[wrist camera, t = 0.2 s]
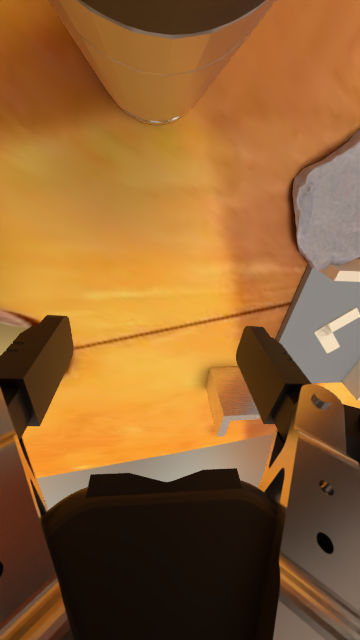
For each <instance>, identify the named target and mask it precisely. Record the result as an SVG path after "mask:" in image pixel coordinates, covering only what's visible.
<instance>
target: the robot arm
mask: <svg viewBox="0 0 360 640" xmlns="http://www.w3.org/2000/svg"><path fill="white" fill-rule="evenodd" d="M48 1H49V3H50V4H51V6H52V7H53V9H54V10H55V12H56V14H57V15H58V17H59V18H60V20H61V21H62V23H63V24H64V26H65V27H66V29H67V30H68V32H69V33H70V35H71V36H72V38H73V40H74V41H75V43H76V44H77V46H78V47H79V49H80V50H81V52H82V53H83V55H84V56H85V58H86V59H87V61H88V63H89V64H90V66H91V67H92V69H93V70H94V72H95V73H96V75H97V76H98V78H99V80H100V81H101V83H102V84H103V86H104V87H105V89H106V90H107V92H108V93H109V95H110V96H111V97H112V98H113V100H114V101H115V102H116V103H117V105H118V106H119V107H120V108H121V109H122V110H124V111H125V112H126V113H127V114H128V115H129V116H131V117H133V118H135V119H137V120H138V121H140V122H143V123H147V124H151V125H164V124H168V123H171V122H174V121H176V120H178V119H179V118H181V117H182V116H184V115H185V114H186V113H187V112H188V111H189V110H190V109H191V108H192V107H193V106H194V105H195V104H196V102H197V101H198V100H199V99H200V97H201V96H202V95H203V94H204V93H205V91H206V90H207V89H208V87H209V86H210V85H211V84H212V82H213V81H214V80H215V78H216V77H217V76H218V75H219V73H220V72H221V71H222V70H223V68H224V67H225V66H226V64H227V63H228V62H229V61H230V59H231V58H232V57H233V55H234V54H235V53H236V52H237V50H238V49H239V48H240V46H241V45H242V44H243V43H244V41H245V40H246V39H247V37H248V36H249V35H250V34H251V32H252V31H253V30H254V29H255V27H256V26H257V25H258V23H259V22H260V21H261V20H262V18H263V17H264V16H265V14H266V13H267V12H268V11H269V9H270V8H271V7H272V5H273V3H274V2H275V1H276V0H48ZM72 355H73V340H72V334H71V328H70V322H69V318H68V317H67V316H56V315H47V316H46V317H45V318H44V319H43V320H42V321H41V323H40V324H39V325H38V326H32V327H30V328H29V329H27V330H25V331H24V332H22V333H20V334H19V336H18V337H17V338H16V339H15V340H14V341H13V344H11V345H10V346H9V347H8V348H7V350H6V351H5V352H4V353H3V354H2V355H1V356H0V640H360V409H359V408H355V407H351V406H348V405H344V404H342V402H341V401H340V400H339V399H338V398H337V396H335V395H334V394H333V393H332V392H330V391H329V390H327V389H325V388H323V387H321V386H318V385H314V384H312V383H311V382H310V381H309V380H308V378H307V377H306V376H305V374H304V373H303V372H302V370H301V369H300V368H299V366H298V365H297V364H296V362H295V361H293V359H292V357H291V356H290V355H289V354H288V352H287V351H286V349H285V348H284V347H283V345H282V344H280V343H279V342H278V341H277V340H275V339H274V338H271V337H270V336H269V334H268V333H267V332H266V330H265V329H264V328H263V327H255V326H246V327H245V328H244V331H243V334H242V337H241V340H240V343H239V346H238V349H237V353H236V361H237V364H238V367H239V369H240V371H241V373H242V376H243V378H244V380H245V382H246V385H247V387H248V389H249V392H250V394H251V396H252V398H253V401H254V403H255V405H256V407H257V410H258V412H259V414H260V417H261V419H262V421H263V423H264V424H275V425H276V427H277V430H276V431H275V434H274V437H273V441H272V445H271V449H270V452H269V456H268V460H267V464H266V468H265V471H264V475H263V477H262V480H261V482H260V484H259V487H258V488H257V487H255V486H253V485H251V484H249V483H246V482H244V481H240V478H239V475H238V471H237V469H213V470H202V471H199V472H196V473H194V474H191V475H188V476H185V477H183V478H180V479H177V480H174V481H171V482H162V481H158V480H154V479H150V478H146V477H142V476H139V475H135V474H130V473H118V474H96V475H91V476H90V481H89V485H88V487H87V488H84V489H81V490H79V491H77V492H75V493H73V494H71V495H69V496H68V497H66V498H64V499H63V500H61V501H60V502H58V503H57V504H56V505H54V506H53V507H52V508H51V509H49V510H48V508H47V505H46V503H45V500H44V497H43V495H42V492H41V490H40V487H39V484H38V481H37V478H36V475H35V472H34V469H33V466H32V464H31V461H30V458H29V455H28V452H27V449H26V446H25V443H24V440H23V437H22V435H23V433H24V431H25V429H26V427H27V426H40V424H41V422H42V420H43V418H44V416H45V414H46V412H47V410H48V407H49V405H50V403H51V401H52V399H53V397H54V395H55V392H56V390H57V388H58V386H59V384H60V382H61V380H62V378H63V375H64V373H65V371H66V369H67V367H68V365H69V363H70V361H71V358H72Z"/></svg>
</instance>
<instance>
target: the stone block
mask: <svg viewBox="0 0 360 640" xmlns="http://www.w3.org/2000/svg"><path fill="white" fill-rule="evenodd" d="M292 197H293V203H294V211H295V223H296V228H297V233H296V236H297V244H298V250H299V252H300V253H301V254H302V255H303V256H304V257H305V258H306V260H307V261H308V263H309V264H310V267H311V268H314V269H318V270H324V269H326V268H327V266H328V265H329V264H331V265H337V266H338V265H341V264H344V263H346V262H349V261H351V260H354V259H356V258H358V257H360V130H358V131H357V132H356V133H355V134H354V135H353V136H352V137H351V138H350V139H349V141H348V142H347V143H346V144H344V145H342V146H341V147H339V148H338V149H337V150H336V151H334V152H333V153H332V154H330V155H329V156H327V157H326V158H324V159H323V160H321V161H319V162H317V163H315V164H312V165H310V166H308V167H306V168H304V169H302V170H301V171H300V173H299V174H298V175H297V176H296V177H295V179H294V182H293V194H292Z"/></svg>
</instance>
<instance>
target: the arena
mask: <svg viewBox="0 0 360 640" xmlns="http://www.w3.org/2000/svg"><path fill="white" fill-rule="evenodd" d="M275 340H277V341H278V342H279V343H280V344H282V345H283V347H284V348H285V349H286V351H287V352H288V354H289V355H290V356H291V357H292V359H293V361H295V362H296V364H297V365H298V366H299V368H300V369H301V370H302V372H303V373H304V374H305V376H306V377H307V378H308V380H309V381H310V382H311V383H331V382H342V383H343V384H344V385H345V387H346V388H347V389H348V390H349V391H350V392H351V394H352V395H353V396H354V397H355V398H356V400H360V257H358V258H356V259H354V260H351V261H349V262H346V263H344V264H341V265H338V266H337V265H331V264H329V265H328V266H327V268H326V269H324V270H318V269H314V268H311V267H310V264H308V266H307V268H306V270H305V273H304V275H303V277H302V280H301V282H300V284H299V287H298V289H297V291H296V293H295V296H294V298H293V300H292V303H291V305H290V307H289V310H288V312H287V314H286V316H285V319H284V321H283V323H282V326H281V328H280V330H279V333H278V335H277V337H276V339H275Z"/></svg>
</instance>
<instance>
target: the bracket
mask: <svg viewBox="0 0 360 640" xmlns="http://www.w3.org/2000/svg"><path fill="white" fill-rule="evenodd" d="M206 392H207V396H208V401H209V405H210V409H211V414H212V418H213V422H214V427H215V431H216V435H217V436H224V435H225V433H226V430H227V428H228V425H229V423H230V421H231V420H251V419H259V418H260V414H259V412H258V410H257V407H256V405H255V403H254V401H253V398H252V396H251V394H250V392H249V389H248V387H247V385H246V382H245V380H244V378H243V376H242V373H241V371H240V369H239V367H210V371H209V375H208V379H207V383H206Z"/></svg>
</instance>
